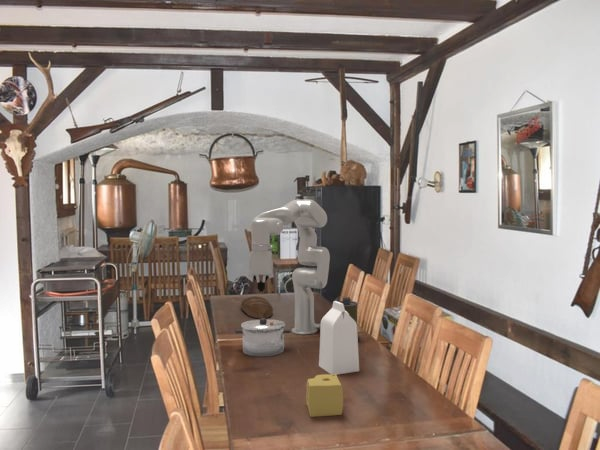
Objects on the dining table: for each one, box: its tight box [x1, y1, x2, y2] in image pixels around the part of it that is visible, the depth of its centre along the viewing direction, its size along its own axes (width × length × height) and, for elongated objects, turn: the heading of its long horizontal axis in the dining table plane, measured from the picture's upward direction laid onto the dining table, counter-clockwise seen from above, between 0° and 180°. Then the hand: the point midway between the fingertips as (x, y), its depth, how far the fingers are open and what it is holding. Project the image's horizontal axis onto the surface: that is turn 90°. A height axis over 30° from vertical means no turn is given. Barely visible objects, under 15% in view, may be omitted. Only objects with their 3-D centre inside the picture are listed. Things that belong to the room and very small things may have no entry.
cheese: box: [305, 373, 344, 418], centre depth 170 cm, size 10×11×10 cm
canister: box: [338, 296, 359, 325], centre depth 249 cm, size 11×10×20 cm
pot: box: [235, 327, 292, 357], centre depth 235 cm, size 24×18×10 cm
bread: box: [240, 295, 274, 320], centre depth 310 cm, size 16×36×8 cm, turn 18°
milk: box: [318, 300, 360, 376], centre depth 210 cm, size 12×12×26 cm
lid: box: [240, 318, 286, 331], centre depth 235 cm, size 19×20×3 cm
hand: (261, 291), depth 229 cm, fingers closed
